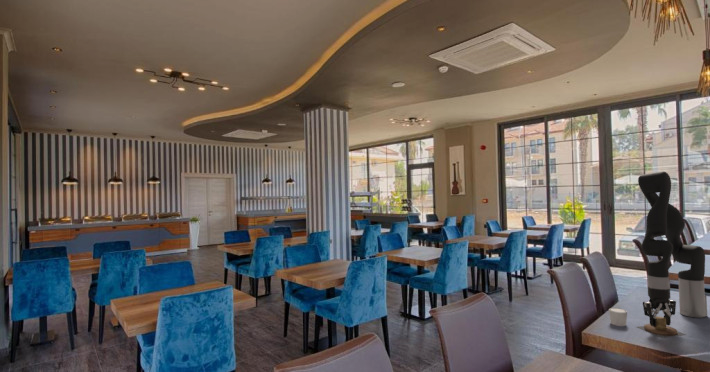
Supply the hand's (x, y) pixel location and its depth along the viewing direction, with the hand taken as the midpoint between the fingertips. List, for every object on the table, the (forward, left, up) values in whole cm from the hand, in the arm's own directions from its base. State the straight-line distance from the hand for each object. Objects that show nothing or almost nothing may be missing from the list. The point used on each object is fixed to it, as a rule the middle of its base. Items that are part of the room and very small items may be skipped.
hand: (660, 325), depth 162 cm
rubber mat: (0, 0, -3) cm, 3 cm away
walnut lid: (0, 0, -2) cm, 2 cm away
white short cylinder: (+10, -11, -3) cm, 15 cm away
